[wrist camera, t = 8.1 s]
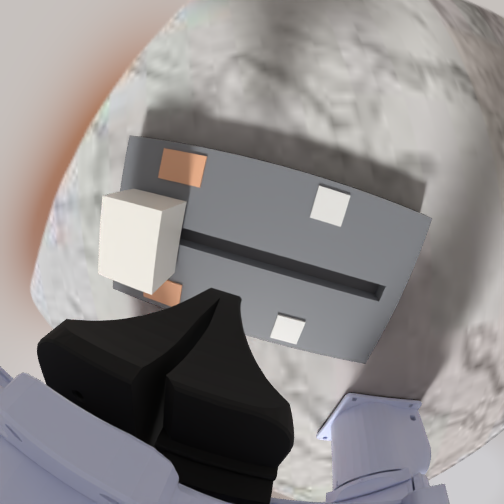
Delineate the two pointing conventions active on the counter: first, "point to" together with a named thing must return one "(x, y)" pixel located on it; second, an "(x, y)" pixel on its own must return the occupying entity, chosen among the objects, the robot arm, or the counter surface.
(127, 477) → the robot arm
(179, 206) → the fader knob
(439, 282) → the counter surface
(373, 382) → the counter surface
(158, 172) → the fader console
